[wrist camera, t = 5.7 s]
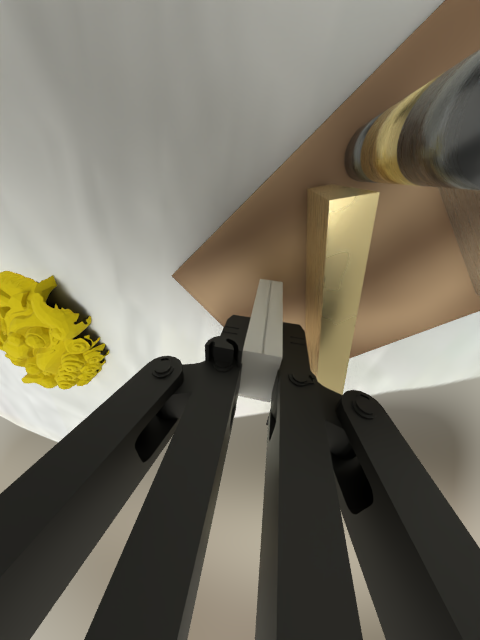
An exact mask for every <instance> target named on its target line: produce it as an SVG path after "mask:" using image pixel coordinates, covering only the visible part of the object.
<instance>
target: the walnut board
mask: <svg viewBox="0 0 480 640" xmlns="http://www.w3.org/2000/svg"><path fill="white" fill-rule="evenodd" d="M479 49H480V0H445V1H444V2H443V3H442V4H441V5H440V6H439V7H438V8H437V9H436V10H435V11H434V12H433V13H432V14H431V15H430V16H429V17H428V18H427V19H426V20H425V21H424V22H423V23H422V24H421V25H420V26H419V27H418V28H417V29H416V30H415V31H414V32H413V33H412V34H411V35H410V36H409V37H408V38H407V39H406V40H405V41H404V42H403V43H402V44H401V45H400V46H399V47H398V48H397V49H396V50H395V51H394V52H393V53H392V54H391V55H390V56H389V57H388V58H387V59H386V60H385V62H384V63H383V64H382V65H381V66H380V67H379V68H378V69H377V70H376V71H375V72H374V73H373V74H372V75H371V76H370V77H369V78H368V79H367V80H366V81H365V82H364V83H363V84H362V85H361V86H360V87H359V88H358V89H357V90H356V91H355V92H354V93H353V94H352V95H351V96H350V97H349V98H348V99H347V100H346V101H345V102H344V103H343V104H342V105H341V106H340V107H339V108H338V109H337V110H336V111H335V112H334V113H333V114H332V115H331V116H330V117H329V118H328V119H327V120H326V121H325V122H324V123H323V124H322V125H321V126H320V127H319V128H318V129H317V130H316V131H315V132H314V133H313V134H312V135H311V136H310V137H309V138H308V139H307V140H306V141H305V142H304V143H303V144H302V145H301V146H300V147H299V148H298V149H297V150H296V151H295V152H294V153H293V154H292V155H291V156H290V157H289V158H288V159H287V160H286V161H285V162H284V163H283V164H282V165H281V166H280V167H279V168H278V169H277V170H276V171H275V172H274V173H273V174H272V175H271V176H270V177H269V178H268V179H267V180H266V181H265V182H264V183H263V184H262V185H261V186H260V187H259V188H258V189H257V190H256V191H255V192H254V193H253V194H252V195H251V196H250V197H249V198H248V199H247V200H246V201H245V202H244V203H243V204H242V205H241V206H240V207H239V208H238V209H237V210H236V211H235V212H234V213H233V214H232V215H231V216H230V217H229V218H228V219H227V220H226V221H225V223H224V224H223V225H222V226H221V227H220V228H219V229H218V230H217V231H216V232H215V233H214V234H213V235H212V236H211V237H210V238H209V239H208V240H207V241H206V242H205V243H204V244H203V245H202V246H201V247H200V248H199V249H198V250H197V251H196V252H195V253H194V254H193V255H192V256H191V257H190V258H189V259H188V260H187V261H186V262H185V263H184V264H183V265H182V266H181V267H180V268H179V269H178V270H177V271H176V272H175V273H174V274H173V275H172V277H173V278H174V279H175V280H176V281H177V282H178V283H179V284H180V285H181V286H182V287H183V288H184V289H186V290H187V291H188V292H189V293H190V294H191V295H192V296H193V297H194V298H195V299H196V300H197V301H198V302H199V303H200V304H201V305H202V306H203V307H204V308H205V309H206V310H207V311H208V312H209V313H210V314H211V315H212V316H213V317H214V318H215V319H216V320H217V321H218V322H219V323H220V324H221V325H222V326H223V327H224V326H225V324H226V321H227V319H228V318H230V317H231V316H232V315H239V316H245V317H251V314H252V310H253V306H254V302H255V298H256V294H257V289H258V285H259V281H260V279H265V280H272V281H279V282H283V322H286V323H293V324H299V325H300V326H301V327H302V328H303V330H304V331H305V314H306V247H307V188H312V187H317V186H323V185H328V184H335V185H341V186H347V187H353V188H359V189H365V190H371V191H377V192H380V193H379V199H378V204H377V210H376V215H375V221H374V226H373V231H372V237H371V242H370V248H369V253H368V259H367V264H366V269H365V275H364V280H363V286H362V291H361V297H360V302H359V307H358V313H357V318H356V324H355V329H354V335H353V340H352V345H351V351H350V356H349V358H352V357H354V356H357V355H360V354H363V353H365V352H368V351H371V350H374V349H376V348H379V347H382V346H385V345H387V344H390V343H393V342H396V341H398V340H401V339H404V338H406V337H409V336H412V335H415V334H417V333H420V332H423V331H426V330H428V329H431V328H434V327H437V326H439V325H442V324H445V323H448V322H450V321H453V320H456V319H459V318H461V317H464V316H467V315H469V314H472V313H475V312H478V311H480V296H478V295H477V294H476V293H475V291H474V288H473V285H472V282H471V279H470V276H469V274H468V271H467V268H466V265H465V262H464V260H463V257H462V254H461V251H460V248H459V246H458V243H457V240H456V237H455V234H454V231H453V229H452V226H451V223H450V220H449V217H448V215H447V212H446V209H445V206H444V203H443V201H442V198H441V195H440V192H439V189H438V187H426V186H413V185H399V184H385V183H371V182H359V181H355V180H353V179H352V178H350V177H349V175H348V174H347V172H346V170H345V166H344V156H345V151H346V148H347V145H348V143H349V141H350V140H351V138H352V136H353V135H354V134H355V133H356V131H357V130H358V129H359V128H361V127H362V126H363V125H364V124H366V123H367V122H369V121H371V120H372V119H374V118H375V117H377V116H378V115H380V114H381V113H383V112H384V111H386V110H387V109H389V108H390V107H392V106H393V105H395V104H396V103H398V102H400V101H401V100H403V99H404V98H406V97H407V96H409V95H410V94H412V93H413V92H415V91H416V90H418V89H419V88H421V87H422V86H424V85H426V84H427V83H429V82H430V81H432V80H433V79H435V78H436V77H438V76H439V75H441V74H442V73H444V72H446V71H447V70H449V69H450V68H452V67H453V66H455V65H456V64H458V63H459V62H461V61H462V60H464V59H465V58H467V57H469V56H470V55H472V54H473V53H475V52H476V51H478V50H479ZM305 336H306V335H305Z"/></svg>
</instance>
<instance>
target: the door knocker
mask: <svg viewBox="0 0 480 640" xmlns="http://www.w3.org/2000/svg"><path fill="white" fill-rule="evenodd" d="M56 286H57V284H56V281H55V279H54V276H53V275H52V276H51V277H49V278H48V279H45V280H42V281H41V282H40V283H37V282H35V281H34V280H33V279H31V278H27V277H26V278H25V277H24V276H22V275H21V274H17V273H16V274H15V273H13V272H10V271H4V272H1V273H0V349H1V350H3V351H5V352H6V353H7V354H5V357H7V358H9V359H10V360H11V362H12V363H13V364H14V365H16V366H21V367H25V368H26V372H27V373H28V374H27V375H26V376H25V377H24V378H22V381H23V382H24V383H37V384H40V385H41V386H43V387H45V388H53V387H55V386H57V385H58V386H59V388H61V389H69V388H71V387H72V386H74V385H76V384H77V386H83V385H86V384H88V383H89V381H91V380H92V379H93V378H94V377H95V376H96V375H97V373H99V372H100V371H101V370H102V367H101V366H102V365H103V364H104V363H105V362H106V360H105V361H104V362H103V363H100V362H99V361H101V360H102V359H103V358H104V357H105V356H106V355H108V354H109V350H108V353H107V354H106V355H100V353H101V352H98V351H103V348H104V347H105V344H101V345H99V346H97V347H95V348H93V349H91V350H89V349H90V345H89V344H88V342H87V341H85V340H84V339H82V338H78V339H75V340H73V339H72V338H75V337H76V336H77V335H79V334H80V333H81V332H82V331H84V330H85V329H86V328H87V327H88V326H89V325H90V324H91V316H89V317H88V319H86V322H87V324H84V323H83V322H80V323H78V324H77V325H75V324H74V322H77V319H78V316H79V313H73V312H72V311H71V310H70V309H63V308H62V309H58V306H57V305H56V304H55V308H51V307H50V306H48V305H47V304H46V300H47V298H48V296H49V294H50V292H51V291H52V290H53V289H54V288H55V287H56ZM89 337H90V336H89V335H87V336H85V337H84V338H87V339H89V340H91V339H90V338H89ZM99 340H100V337H99V338H98V339H97V340H96V341H95V342H93V341H92V340H91V341H92V346H91V348H92V347H93V346H94V345H95V344H97V342H98V341H99ZM96 350H98V351H96ZM99 368H100V370H99V371H96V370H98V369H99Z"/></svg>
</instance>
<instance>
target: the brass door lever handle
mask: <svg viewBox="0 0 480 640" xmlns="http://www.w3.org/2000/svg"><path fill="white" fill-rule="evenodd" d="M442 74H443V73H442ZM442 74H441V75H442ZM441 75H439V76H441ZM439 76H438V77H439ZM438 77H436V78H435V79H433V80H432V81H430V82H429V83H427V84H426V85H424V86H422V87H421V88H419V89H418V90H416V91H415V92H413V93H412V94H410V95H409V96H407V97H406V98H404V99H403V100H401V101H400V102H398V103H396V104H395V105H393V106H392V107H390V108H389V109H388V110H386V111H385V112H384V113H383V114H382V115H380V116H379V117H378V119H377V120H376V121H375V122H374V123H373V125H372V126H371V128H370V129H369V131H368V133H367V135H366V137H365V139H364V142H363V145H362V148H361V156H360V161H361V167H362V170H363V172H364V174H365V175H366V176H367V177H368V178H369V179H370V180H372V181H374V182H377V183H385V184H399V185H413V186H419V185H416V184H413V183H411V182H409V181H408V180H407V179H406V178H405V177H404V176H403V175H402V173H401V171H400V169H399V166H398V162H397V144H398V139H399V135H400V132H401V129H402V126H403V124H404V122H405V120H406V118H407V116H408V114H409V112H410V110H411V109H412V107H413V106H414V104H415V103H416V101H417V100H418V99H419V97H420V96H421V95H422V93H423V92H424V91H425V90H426V89H427V88H428V87H429V86H430V85H431V84H432V83H433V82H434V81H435V80H436V79H437V78H438ZM379 193H380V192H377V191H371V190H365V189H359V188H353V187H347V186H341V185H335V184H328V185H323V186H317V187H312V188H307V247H306V314H305V335H306V343H307V350H308V357H309V363H310V370H311V372H312V373H313V374H314V375H315V376H316V378H317V381H318V382H319V383H320V384H321V385H323V386H325V387H326V388H328V389H330V390H332V391H335V392H337V393H339V394H341V395H342V394H343V389H344V384H345V378H346V373H347V367H348V362H349V356H350V351H351V345H352V340H353V335H354V329H355V324H356V318H357V313H358V307H359V302H360V297H361V291H362V286H363V280H364V275H365V269H366V264H367V259H368V253H369V248H370V242H371V237H372V231H373V226H374V221H375V215H376V210H377V204H378V199H379Z"/></svg>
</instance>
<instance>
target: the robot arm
mask: <svg viewBox="0 0 480 640" xmlns="http://www.w3.org/2000/svg"><path fill="white" fill-rule="evenodd" d="M205 359H206V360H205V361H203V362H201V363H196V364H185V365H182V363H181V361H180V360H179V359H177V358H176V357H172V356H162V357H159V358H156V359H154V360H152V361H151V362H149V363H148V364H147V365H146V366H144V367H143V368H142V369H141V370H140V371H139V372H138V373H136V374H135V375H134V376H133V377H132V378H131V379H130V380H129V381H127V382H126V383H125V384H124V385H123V386H122V387H121V388H120V389H118V390H117V391H116V392H115V393H114V394H113V395H112V396H111V397H109V398H108V399H107V400H106V401H105V402H104V403H103V404H101V405H100V406H99V407H98V408H97V409H96V410H95V411H94V412H92V413H91V414H90V415H89V416H88V417H87V418H86V419H85V420H83V421H82V422H81V423H80V424H79V425H78V426H77V427H75V428H74V429H73V430H72V431H71V432H70V433H69V434H68V435H66V436H65V437H64V438H63V439H62V440H61V441H60V442H59V443H57V444H56V445H55V446H54V447H53V448H52V449H51V450H50V451H48V452H47V453H46V454H45V455H44V456H43V457H42V458H40V459H39V460H38V461H37V462H36V463H35V464H34V465H33V466H32V467H30V468H29V469H28V470H27V471H26V472H25V473H24V474H22V475H21V476H20V477H19V478H18V479H17V480H16V481H14V482H13V483H12V484H11V485H10V486H9V487H8V488H7V489H6V490H4V491H3V492H2V493H1V494H0V640H30V638H31V637H32V636H33V634H34V633H35V631H36V630H37V628H38V627H39V625H40V624H41V623H42V621H43V620H44V619H45V617H46V616H47V614H48V613H49V611H50V610H51V608H52V607H53V605H54V604H55V603H56V601H57V600H58V598H59V597H60V596H61V594H62V593H63V591H64V590H65V589H66V587H67V586H68V584H69V583H70V581H71V580H72V578H73V577H74V576H75V574H76V573H77V571H78V570H79V568H80V567H81V566H82V564H83V563H84V561H85V560H86V558H87V557H88V556H89V554H90V553H91V551H92V550H93V549H94V547H95V546H96V544H97V543H98V541H99V540H100V539H101V537H102V536H103V534H104V533H105V531H106V530H107V529H108V527H109V526H110V524H111V523H112V521H113V520H114V519H115V517H116V516H117V514H118V513H119V511H120V510H121V509H122V507H123V506H124V504H125V503H126V501H127V500H128V499H129V497H130V496H131V494H132V492H133V491H134V490H135V489H136V487H137V486H138V484H139V483H140V481H141V480H142V479H143V477H144V476H145V474H146V473H147V471H148V470H149V469H150V467H151V466H152V464H153V463H154V462H155V460H156V459H157V457H158V456H159V454H160V453H161V452H162V450H163V449H164V447H165V446H166V444H167V443H168V442H169V440H170V439H171V437H172V436H173V437H172V439H171V442H170V444H169V446H168V449H167V451H166V453H165V456H164V458H163V460H162V462H161V465H160V467H159V469H158V472H157V474H156V476H155V478H154V481H153V483H152V485H151V488H150V490H149V492H148V494H147V497H146V499H145V501H144V504H143V506H142V508H141V511H140V513H139V515H138V518H137V520H136V522H135V524H134V527H133V529H132V531H131V534H130V536H129V538H128V540H127V543H126V545H125V547H124V550H123V552H122V554H121V557H120V559H119V561H118V564H117V566H116V568H115V570H114V573H113V575H112V577H111V579H110V582H109V584H108V586H107V589H106V591H105V593H104V596H103V598H102V600H101V603H100V605H99V607H98V609H97V612H96V614H95V616H94V619H93V621H92V623H91V625H90V628H89V630H88V632H87V635H86V637H85V639H84V640H187V638H188V633H189V628H190V623H191V619H192V614H193V609H194V605H195V600H196V595H197V590H198V586H199V581H200V576H201V571H202V567H203V562H204V557H205V552H206V548H207V543H208V538H209V533H210V529H211V524H212V519H213V514H214V509H215V505H216V500H217V495H218V491H219V486H220V481H221V476H222V471H223V466H224V462H225V458H226V452H227V448H228V443H229V439H230V434H231V429H232V424H233V419H234V415H235V410H236V403H237V397H238V396H242V397H247V398H251V399H256V400H261V401H266V402H270V401H271V409H270V413H269V416H268V420H267V423H266V425H268V438H267V454H266V470H265V486H264V502H263V503H264V504H263V518H262V534H261V552H260V568H259V584H258V601H257V616H256V633H255V640H363V638H362V633H361V626H360V621H359V615H358V610H357V603H356V597H355V592H354V586H353V580H352V575H351V569H350V563H349V558H348V552H347V546H346V540H345V534H344V528H343V523H342V517H341V512H342V515H343V518H344V521H345V523H346V527H347V530H348V532H349V535H350V538H351V541H352V544H353V547H354V550H355V552H356V555H357V558H358V561H359V564H360V567H361V569H362V572H363V575H364V578H365V581H366V584H367V587H368V590H369V592H370V595H371V598H372V601H373V604H374V607H375V610H376V612H377V615H378V618H379V621H380V624H381V627H382V629H383V632H384V635H385V638H386V640H480V548H479V547H478V545H477V544H476V542H475V541H474V539H473V538H472V536H471V535H470V534H469V532H468V531H467V529H466V528H465V526H464V525H463V523H462V522H461V520H460V519H459V517H458V516H457V515H456V513H455V512H454V510H453V509H452V507H451V506H450V505H449V503H448V502H447V500H446V499H445V498H444V496H443V494H442V493H441V491H440V490H439V488H438V487H437V485H436V484H435V483H434V481H433V480H432V479H431V477H430V475H429V474H428V472H427V471H426V469H425V468H424V467H423V465H422V464H421V462H420V461H419V459H418V458H417V456H416V455H415V454H414V452H413V451H412V449H411V448H410V446H409V445H408V443H407V442H406V441H405V439H404V438H403V436H402V435H401V433H400V432H399V430H398V429H397V427H396V426H395V425H394V423H393V422H392V420H391V419H390V417H389V416H388V415H387V413H386V412H385V410H384V408H383V407H382V406H381V405H380V404H379V403H378V402H377V401H376V400H375V399H374V398H372V397H371V396H370V395H368V394H366V393H363V392H361V391H356V390H350V391H346V392H345V393H344V394H343V395H341V394H339V393H337V392H335V391H332V390H330V389H328V388H326V387H325V386H323V385H321V384H320V383H319V382H318V381H317V378H316V376H315V375H314V374H313V373H312V372H311V370H310V363H309V357H308V350H307V343H306V336H305V331H304V330H303V328H302V327H301V326H300V325H299V324H293V323H286V322H283V282H279V281H272V280H265V279H260V281H259V285H258V289H257V294H256V298H255V302H254V306H253V310H252V314H251V317H245V316H239V315H232V316H231V317H230V318H228V319H227V321H226V324H225V326H224V328H223V331H222V333H221V336H217V337H214V338H212V339H210V340H208V342H207V343H206V344H205ZM173 434H174V435H173ZM340 509H341V511H340Z"/></svg>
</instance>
